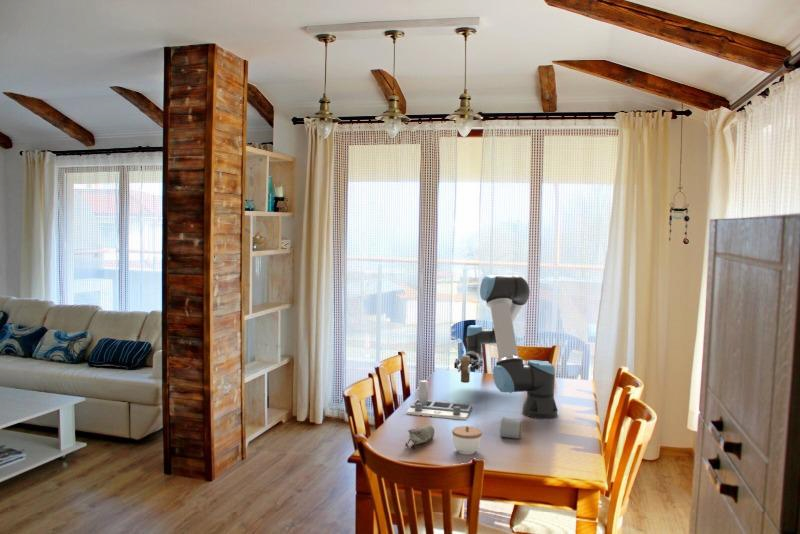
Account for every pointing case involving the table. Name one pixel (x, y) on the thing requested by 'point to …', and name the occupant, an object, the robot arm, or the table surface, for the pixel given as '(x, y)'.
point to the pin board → (431, 404)
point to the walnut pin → (465, 368)
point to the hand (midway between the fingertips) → (463, 369)
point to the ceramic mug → (511, 428)
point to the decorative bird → (420, 434)
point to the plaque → (438, 412)
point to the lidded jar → (467, 439)
